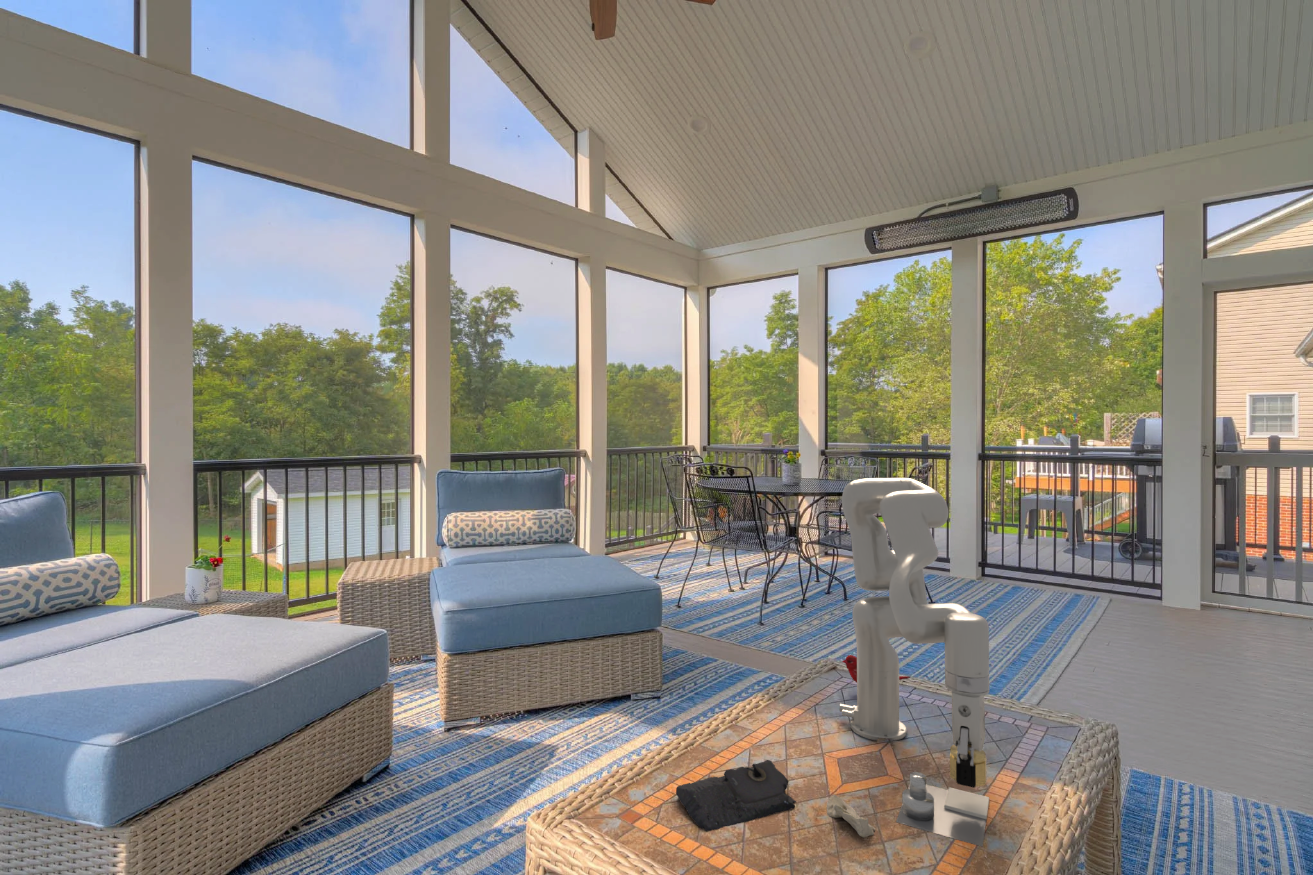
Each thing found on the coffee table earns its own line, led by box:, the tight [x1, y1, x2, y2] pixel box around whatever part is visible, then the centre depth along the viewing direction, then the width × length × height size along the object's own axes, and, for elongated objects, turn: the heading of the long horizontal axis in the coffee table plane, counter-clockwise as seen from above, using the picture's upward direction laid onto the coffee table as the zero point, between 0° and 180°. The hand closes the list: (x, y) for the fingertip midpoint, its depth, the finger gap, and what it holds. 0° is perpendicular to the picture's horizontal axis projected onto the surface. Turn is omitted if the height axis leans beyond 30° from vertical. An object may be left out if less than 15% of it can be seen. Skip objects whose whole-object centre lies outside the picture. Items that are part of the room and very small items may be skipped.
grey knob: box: [901, 771, 934, 821], centre depth 120 cm, size 5×5×7 cm
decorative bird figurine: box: [841, 654, 911, 684], centre depth 176 cm, size 3×18×10 cm, turn 67°
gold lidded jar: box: [949, 744, 987, 788], centre depth 122 cm, size 6×6×6 cm
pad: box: [944, 786, 990, 820], centre depth 122 cm, size 7×7×1 cm
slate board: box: [895, 784, 987, 848], centre depth 120 cm, size 14×16×1 cm
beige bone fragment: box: [826, 794, 876, 838], centre depth 118 cm, size 6×10×4 cm, turn 27°
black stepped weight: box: [675, 759, 797, 832], centre depth 126 cm, size 15×22×5 cm
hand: (967, 775), depth 122 cm, fingers closed on gold lidded jar, 6 cm apart
